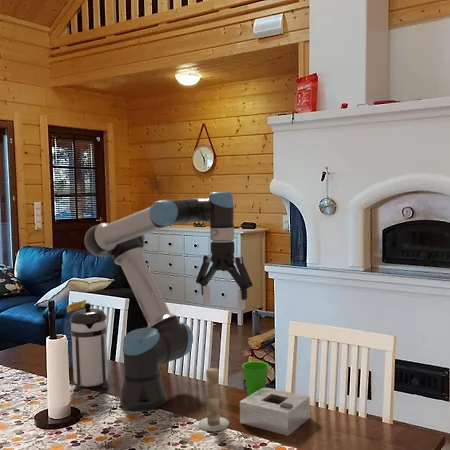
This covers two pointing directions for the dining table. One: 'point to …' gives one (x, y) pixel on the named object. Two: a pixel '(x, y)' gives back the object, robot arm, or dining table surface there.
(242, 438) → the dining table surface
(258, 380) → the cup
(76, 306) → the blue food package
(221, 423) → the pad
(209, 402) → the dowel
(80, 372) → the coffee press
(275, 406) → the grey block with hole
